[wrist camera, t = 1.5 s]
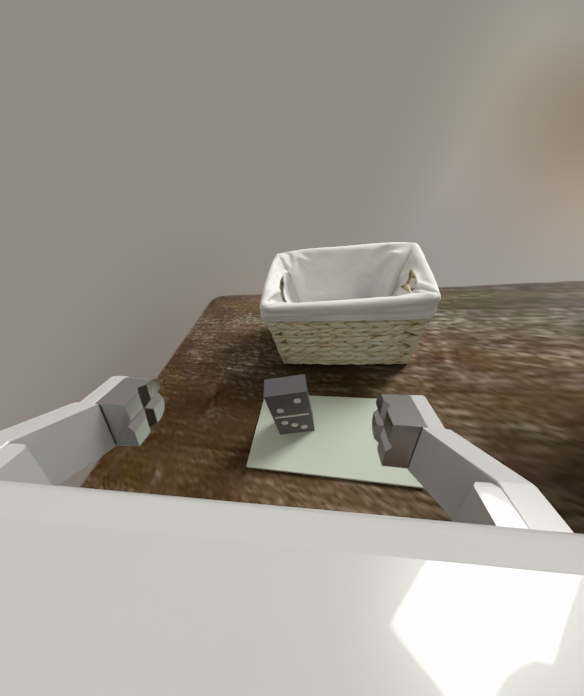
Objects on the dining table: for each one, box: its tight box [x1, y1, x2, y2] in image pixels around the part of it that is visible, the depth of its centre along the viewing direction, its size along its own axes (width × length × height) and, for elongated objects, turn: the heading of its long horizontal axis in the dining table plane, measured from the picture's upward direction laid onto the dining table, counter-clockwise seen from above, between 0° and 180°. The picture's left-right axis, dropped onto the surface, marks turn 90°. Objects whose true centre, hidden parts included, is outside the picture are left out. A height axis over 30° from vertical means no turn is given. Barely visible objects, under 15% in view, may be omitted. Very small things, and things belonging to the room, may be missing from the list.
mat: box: [246, 395, 424, 489], centre depth 35 cm, size 22×12×1 cm, turn 81°
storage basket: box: [260, 242, 441, 365], centre depth 43 cm, size 24×16×15 cm
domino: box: [264, 374, 315, 435], centre depth 33 cm, size 5×3×10 cm, turn 93°
